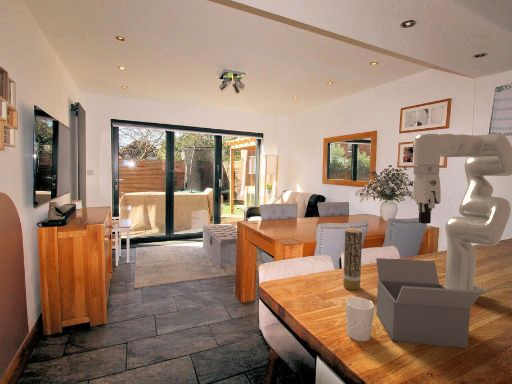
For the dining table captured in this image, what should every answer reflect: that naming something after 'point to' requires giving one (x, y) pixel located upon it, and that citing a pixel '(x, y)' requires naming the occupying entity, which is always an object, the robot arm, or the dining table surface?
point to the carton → (421, 318)
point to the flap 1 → (407, 271)
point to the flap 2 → (437, 297)
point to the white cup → (359, 318)
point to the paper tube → (352, 258)
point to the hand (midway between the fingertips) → (424, 222)
